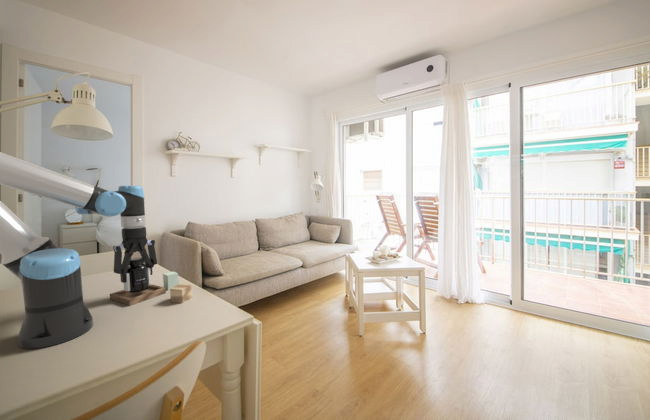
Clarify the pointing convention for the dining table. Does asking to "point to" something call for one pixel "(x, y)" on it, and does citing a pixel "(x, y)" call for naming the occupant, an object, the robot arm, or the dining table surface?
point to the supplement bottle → (138, 275)
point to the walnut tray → (137, 295)
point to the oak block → (181, 293)
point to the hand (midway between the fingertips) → (138, 287)
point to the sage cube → (170, 280)
